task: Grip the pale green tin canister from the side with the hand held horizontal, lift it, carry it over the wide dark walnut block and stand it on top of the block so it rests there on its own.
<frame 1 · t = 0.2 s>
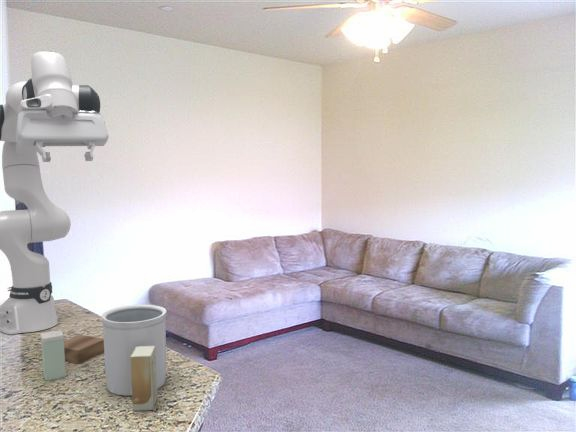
hand: (68, 160, 118), 54 cm above the countertop, tool tilted 25°, fingers open, 8 cm apart
walnut block: (80, 356, 141), on the countertop
canister: (54, 375, 127), on the countertop
utensil holder: (137, 384, 121), on the countertop
skincare box: (145, 405, 110), on the countertop
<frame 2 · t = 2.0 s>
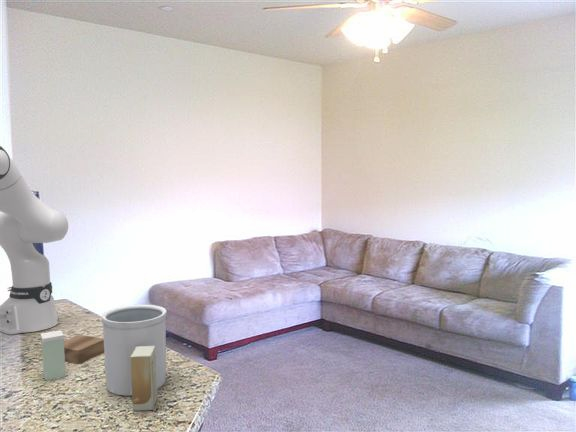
nothing on the countertop moved.
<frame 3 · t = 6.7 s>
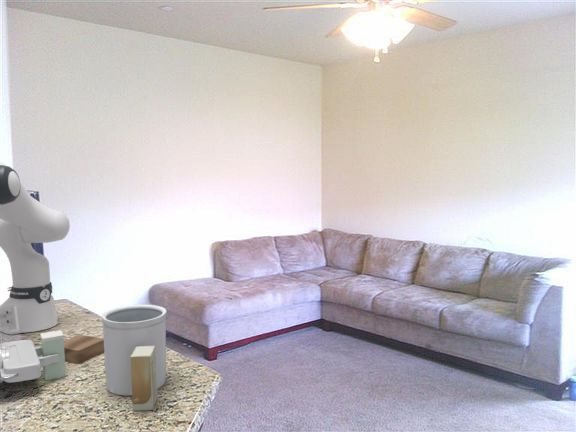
hand: (57, 353, 127), 6 cm above the countertop, tool horizontal, fingers closed on canister, 5 cm apart
canister: (54, 375, 127), on the countertop, touching gripper
everything else where it was.
when the fingers open (10 cm above the countertop, at t = 12.8 s): canister stays where it is, point 4 cm above the countertop.
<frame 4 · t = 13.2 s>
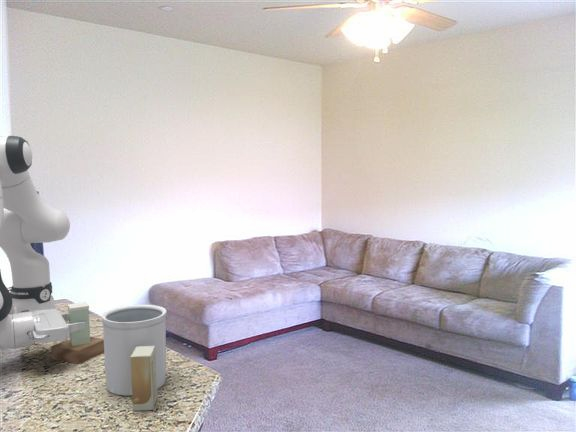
hand: (81, 320, 140), 10 cm above the countertop, tool horizontal, fingers open, 8 cm apart
canister: (79, 342, 141), point 4 cm above the countertop
everything else where it was.
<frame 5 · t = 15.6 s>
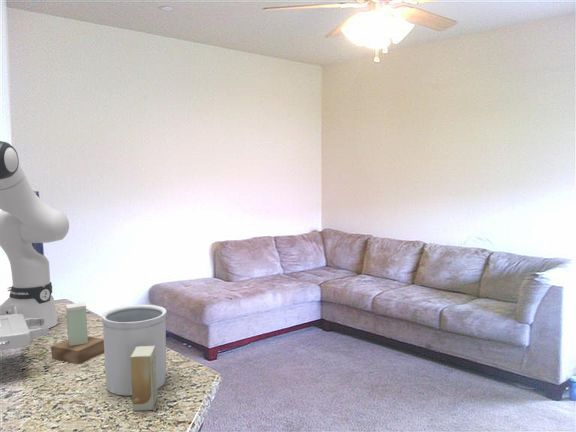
hand: (46, 325, 135), 10 cm above the countertop, tool horizontal, fingers open, 8 cm apart
walnut block: (79, 356, 141), on the countertop, touching canister
canister: (78, 342, 140), point 4 cm above the countertop, touching walnut block
everything else where it was.
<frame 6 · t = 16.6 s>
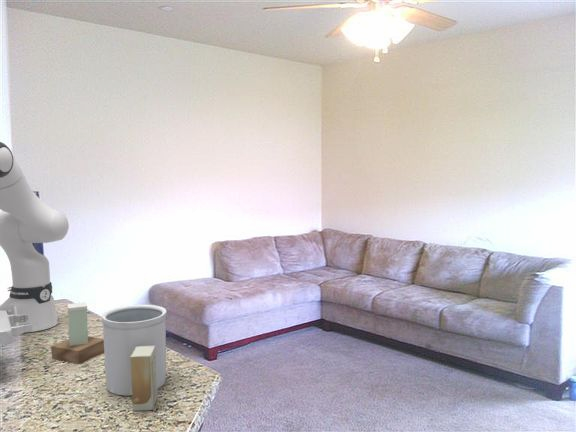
hand: (29, 322, 134), 11 cm above the countertop, tool horizontal, fingers open, 8 cm apart
walnut block: (80, 356, 141), on the countertop
canister: (78, 342, 140), point 4 cm above the countertop
everything else where it was.
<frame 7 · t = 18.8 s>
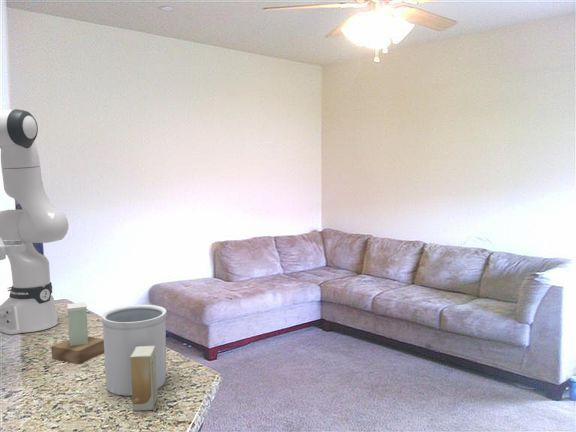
hand: (23, 245, 131), 32 cm above the countertop, tool horizontal, fingers open, 8 cm apart
nothing on the countertop moved.
at the end: canister inside the target area on the walnut block (0.3 cm from its centre), point 4.1 cm above the walnut block's base; canister tilted 1°; the gripper is holding nothing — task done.
